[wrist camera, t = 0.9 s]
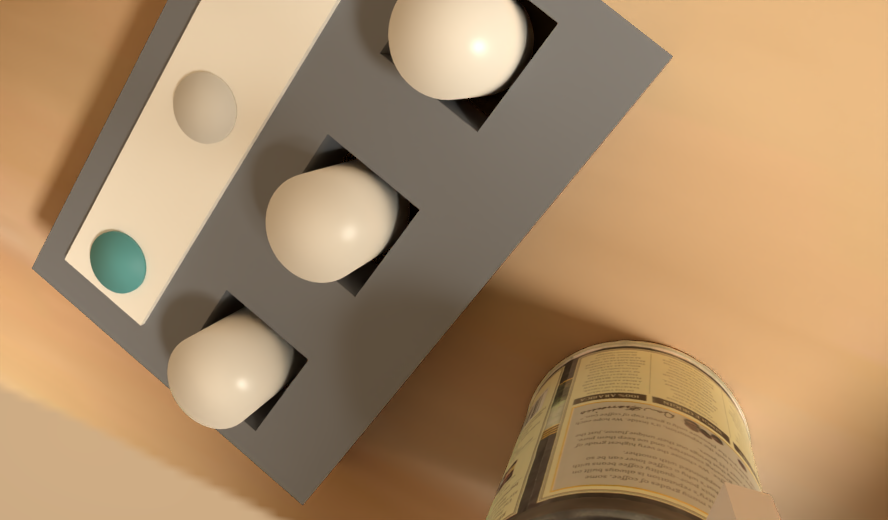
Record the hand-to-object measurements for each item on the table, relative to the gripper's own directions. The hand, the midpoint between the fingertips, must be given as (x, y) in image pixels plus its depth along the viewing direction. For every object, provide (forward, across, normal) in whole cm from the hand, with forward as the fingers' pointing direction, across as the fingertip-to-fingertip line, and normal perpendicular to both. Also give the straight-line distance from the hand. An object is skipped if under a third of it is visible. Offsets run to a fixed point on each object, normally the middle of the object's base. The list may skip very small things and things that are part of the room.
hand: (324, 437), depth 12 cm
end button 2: (+21, +7, +12) cm, 25 cm away
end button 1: (+21, 0, -4) cm, 22 cm away
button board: (+23, +6, +3) cm, 24 cm away
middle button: (+21, +4, +4) cm, 22 cm away
